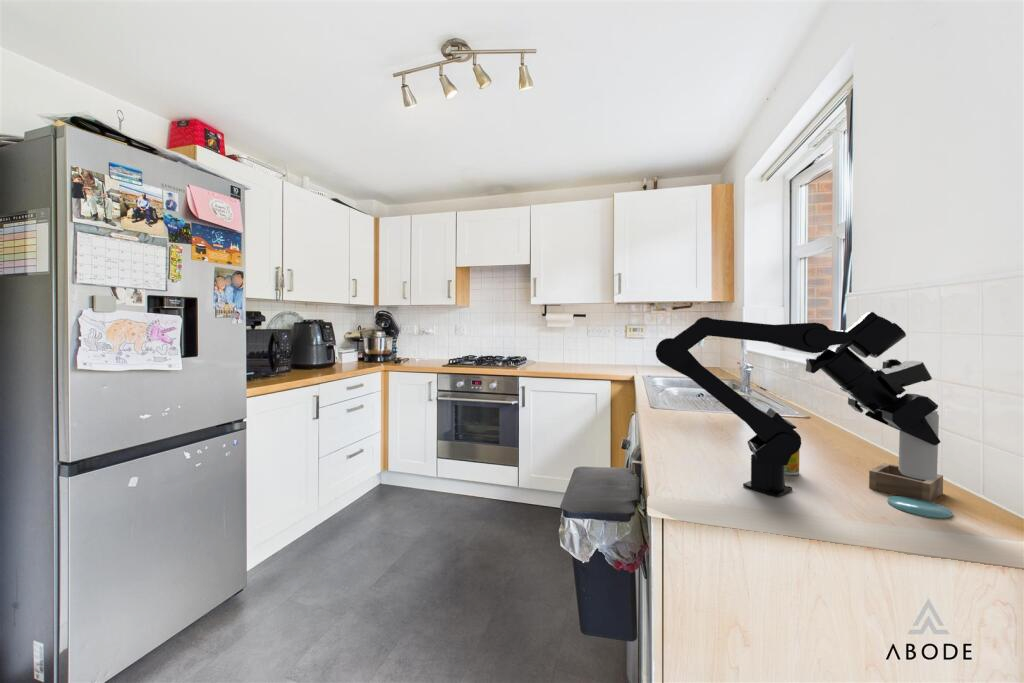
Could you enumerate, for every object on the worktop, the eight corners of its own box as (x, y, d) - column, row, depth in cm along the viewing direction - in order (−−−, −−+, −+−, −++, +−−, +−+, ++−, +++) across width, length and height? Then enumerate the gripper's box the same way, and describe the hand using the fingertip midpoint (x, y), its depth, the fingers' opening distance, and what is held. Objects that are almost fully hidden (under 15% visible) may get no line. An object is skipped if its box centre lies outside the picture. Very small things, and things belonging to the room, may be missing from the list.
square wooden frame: (929, 503, 72) (930, 484, 72) (869, 487, 80) (869, 470, 80) (942, 493, 77) (943, 475, 77) (884, 479, 84) (884, 463, 84)
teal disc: (945, 522, 65) (945, 519, 65) (880, 505, 72) (881, 502, 72) (957, 511, 69) (957, 508, 69) (895, 495, 76) (895, 492, 76)
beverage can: (941, 483, 68) (944, 413, 67) (903, 477, 70) (905, 410, 70) (930, 474, 72) (932, 408, 71) (894, 469, 74) (896, 405, 74)
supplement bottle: (773, 473, 88) (773, 430, 88) (767, 466, 93) (768, 425, 93) (802, 477, 86) (803, 432, 86) (795, 469, 91) (795, 427, 91)
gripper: (923, 346, 63) (1017, 422, 59) (869, 343, 80) (939, 402, 77) (859, 392, 66) (945, 467, 62) (820, 380, 83) (885, 438, 80)
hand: (928, 440), depth 70 cm, fingers closed on beverage can, 5 cm apart
